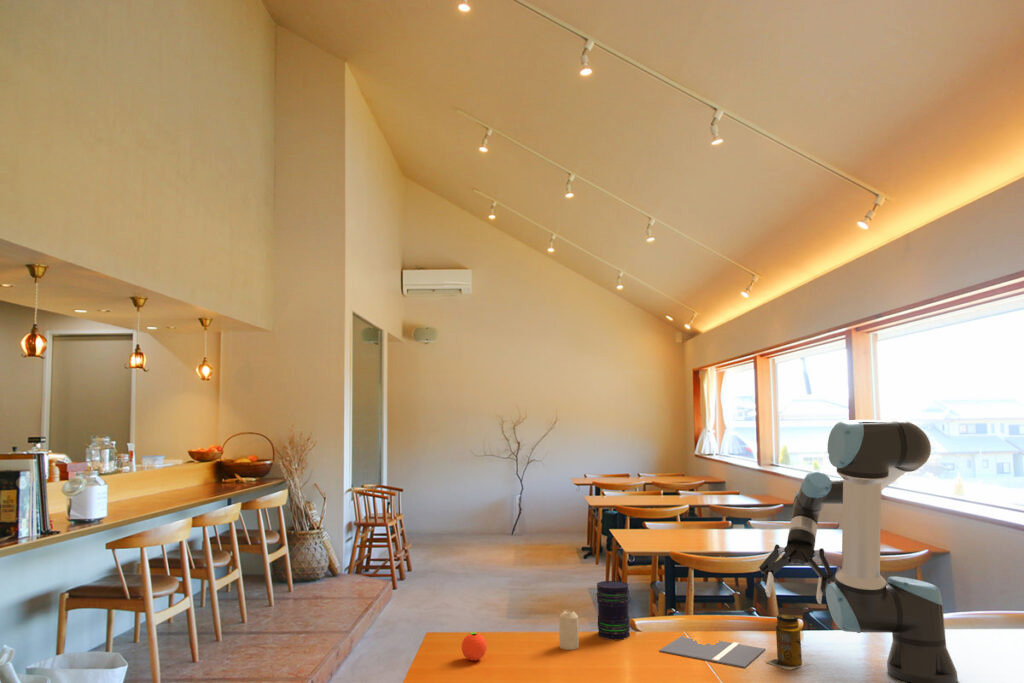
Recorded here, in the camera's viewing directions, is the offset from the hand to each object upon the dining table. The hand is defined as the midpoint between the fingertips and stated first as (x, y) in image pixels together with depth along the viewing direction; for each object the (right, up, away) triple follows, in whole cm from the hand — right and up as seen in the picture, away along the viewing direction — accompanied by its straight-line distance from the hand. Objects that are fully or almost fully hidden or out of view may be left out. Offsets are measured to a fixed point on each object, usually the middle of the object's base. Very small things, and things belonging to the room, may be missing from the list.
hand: (792, 597), depth 189 cm
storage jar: (-48, -18, +17) cm, 54 cm away
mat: (-22, -15, +1) cm, 27 cm away
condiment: (-5, -14, -10) cm, 18 cm away
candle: (-62, -17, +6) cm, 65 cm away
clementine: (-89, -16, -4) cm, 91 cm away
